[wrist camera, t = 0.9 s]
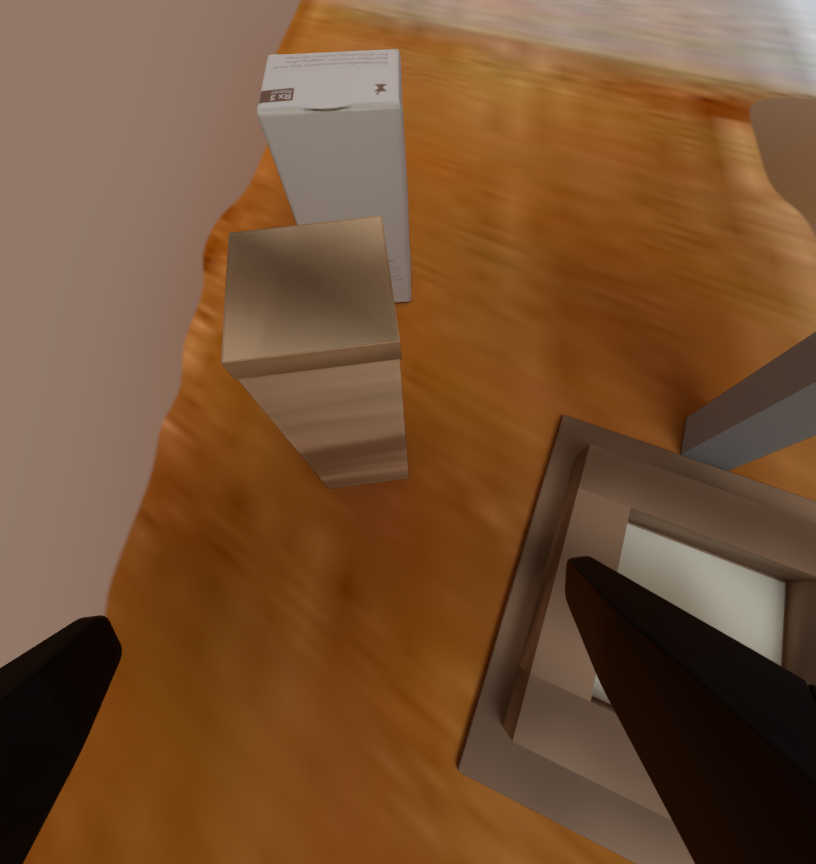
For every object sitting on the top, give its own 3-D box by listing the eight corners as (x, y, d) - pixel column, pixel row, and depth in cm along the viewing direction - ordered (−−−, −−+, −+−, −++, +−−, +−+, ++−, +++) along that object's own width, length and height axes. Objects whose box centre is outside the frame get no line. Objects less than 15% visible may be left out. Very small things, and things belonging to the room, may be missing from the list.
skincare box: (410, 257, 28) (406, 39, 17) (412, 308, 27) (408, 101, 16) (325, 260, 29) (265, 44, 17) (321, 310, 27) (252, 106, 16)
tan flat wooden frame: (868, 980, 15) (950, 1049, 12) (457, 767, 17) (462, 792, 15) (863, 521, 21) (916, 513, 19) (561, 417, 23) (576, 399, 21)
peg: (409, 479, 22) (400, 341, 10) (327, 489, 22) (221, 363, 10) (399, 406, 24) (381, 215, 12) (323, 415, 24) (228, 232, 12)
